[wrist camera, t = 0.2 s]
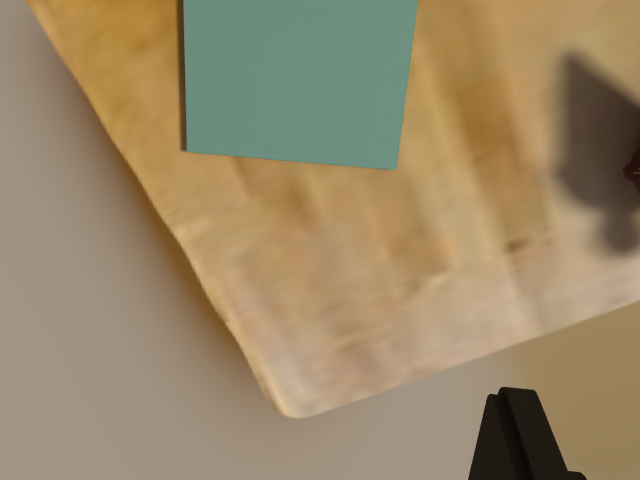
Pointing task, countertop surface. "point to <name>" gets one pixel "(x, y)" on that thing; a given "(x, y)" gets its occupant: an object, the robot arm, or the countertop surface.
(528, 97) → the countertop surface
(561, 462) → the robot arm
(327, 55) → the mat
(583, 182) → the countertop surface
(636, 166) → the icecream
